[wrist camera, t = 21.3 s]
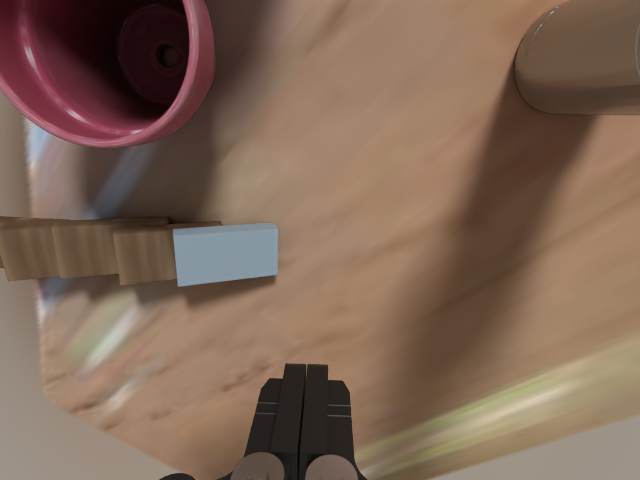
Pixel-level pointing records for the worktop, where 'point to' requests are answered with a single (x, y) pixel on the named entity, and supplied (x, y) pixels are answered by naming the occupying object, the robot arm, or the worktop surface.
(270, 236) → the domino
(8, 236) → the domino
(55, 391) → the worktop surface
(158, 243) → the domino
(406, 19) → the worktop surface
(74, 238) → the domino
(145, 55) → the plant pot
